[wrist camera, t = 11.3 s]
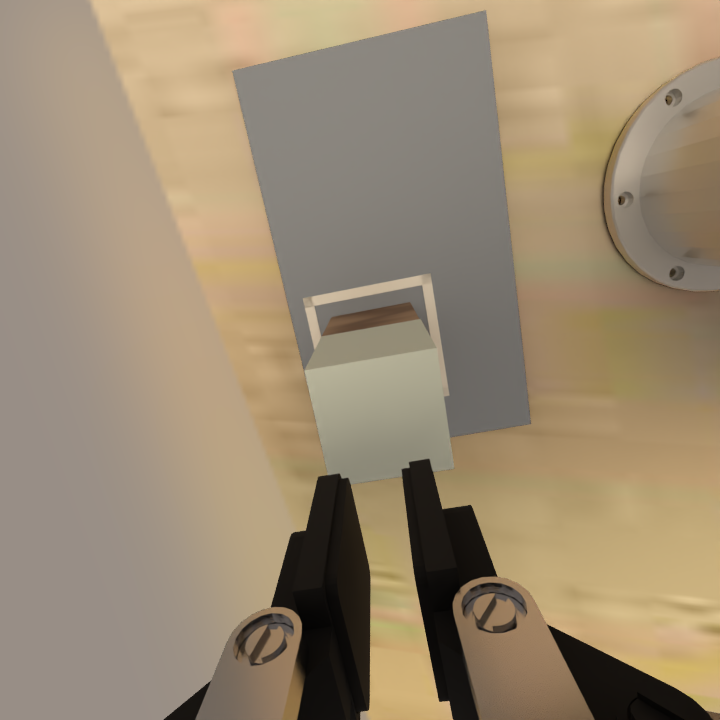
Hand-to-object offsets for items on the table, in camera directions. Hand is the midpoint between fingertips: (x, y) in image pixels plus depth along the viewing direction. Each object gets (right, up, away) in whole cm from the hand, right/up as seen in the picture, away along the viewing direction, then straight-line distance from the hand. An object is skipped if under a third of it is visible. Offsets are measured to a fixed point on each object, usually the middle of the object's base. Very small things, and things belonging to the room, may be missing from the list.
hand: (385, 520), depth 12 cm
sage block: (0, +3, +12) cm, 12 cm away
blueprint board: (+2, +10, +17) cm, 20 cm away
